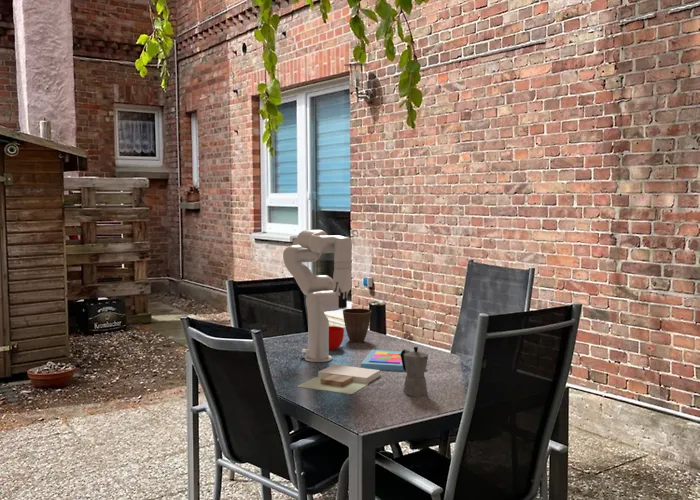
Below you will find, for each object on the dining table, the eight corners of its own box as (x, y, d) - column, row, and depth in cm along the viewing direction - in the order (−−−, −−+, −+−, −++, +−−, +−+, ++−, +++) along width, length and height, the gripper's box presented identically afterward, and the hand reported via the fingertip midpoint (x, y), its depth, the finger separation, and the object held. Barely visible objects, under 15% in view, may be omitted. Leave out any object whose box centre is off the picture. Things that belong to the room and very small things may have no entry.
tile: (320, 383, 280) (320, 379, 280) (330, 378, 288) (330, 373, 288) (342, 387, 276) (342, 382, 275) (352, 381, 284) (352, 376, 283)
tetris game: (360, 369, 306) (424, 373, 301) (360, 363, 306) (424, 366, 301) (371, 355, 334) (430, 358, 328) (371, 349, 334) (430, 352, 328)
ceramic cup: (352, 346, 352) (352, 326, 351) (334, 352, 337) (335, 332, 336) (330, 343, 358) (330, 324, 358) (312, 349, 344) (312, 329, 343)
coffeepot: (436, 395, 266) (436, 348, 265) (417, 399, 261) (417, 351, 259) (410, 386, 279) (410, 341, 277) (391, 389, 273) (391, 344, 272)
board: (318, 377, 291) (318, 371, 290) (333, 370, 303) (333, 364, 303) (366, 384, 281) (366, 377, 281) (380, 376, 294) (380, 370, 294)
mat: (297, 386, 276) (297, 386, 276) (316, 377, 291) (316, 376, 291) (352, 394, 266) (352, 393, 266) (368, 384, 281) (368, 383, 281)
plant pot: (371, 344, 357) (371, 313, 355) (342, 344, 357) (342, 313, 356) (370, 338, 371) (371, 308, 370) (342, 338, 372) (343, 308, 370)
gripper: (342, 263, 309) (342, 304, 311) (327, 266, 296) (327, 309, 297) (357, 264, 306) (357, 306, 308) (343, 267, 293) (343, 311, 294)
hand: (342, 307), depth 303 cm, fingers closed
